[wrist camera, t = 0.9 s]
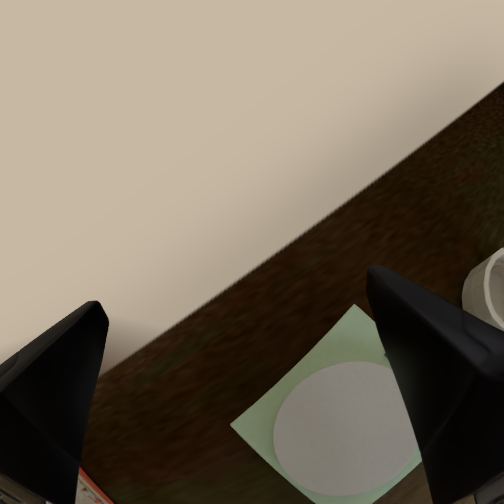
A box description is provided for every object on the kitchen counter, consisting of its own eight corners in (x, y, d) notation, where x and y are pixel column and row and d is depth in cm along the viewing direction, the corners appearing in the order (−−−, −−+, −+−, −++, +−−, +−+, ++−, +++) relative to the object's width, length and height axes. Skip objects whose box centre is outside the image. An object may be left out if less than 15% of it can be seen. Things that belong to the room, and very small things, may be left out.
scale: (458, 406, 18) (471, 411, 15) (342, 513, 17) (342, 528, 14) (352, 307, 23) (355, 301, 21) (236, 419, 23) (225, 426, 20)
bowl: (521, 293, 19) (549, 281, 14) (491, 350, 18) (519, 347, 14) (480, 250, 21) (504, 230, 17) (447, 305, 21) (470, 295, 16)
